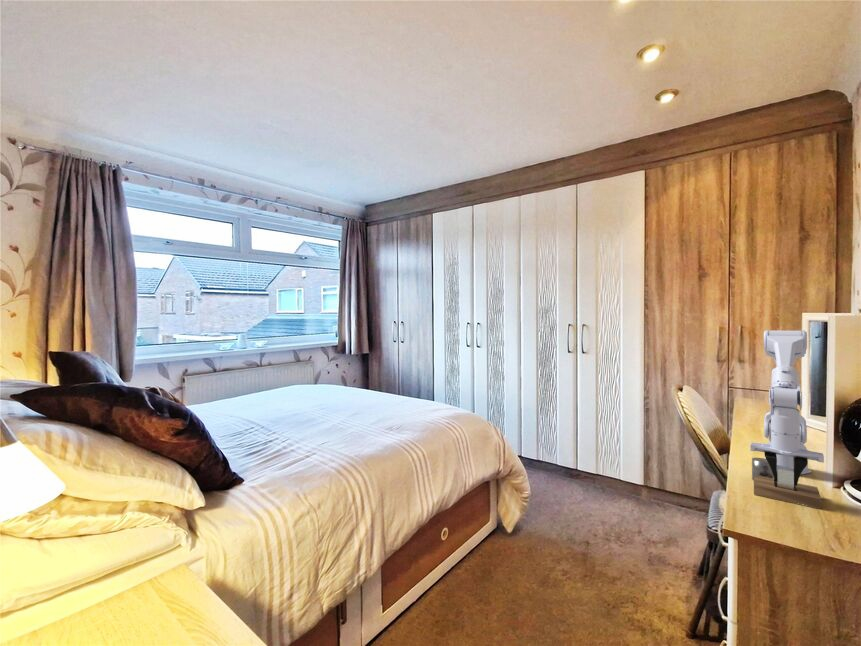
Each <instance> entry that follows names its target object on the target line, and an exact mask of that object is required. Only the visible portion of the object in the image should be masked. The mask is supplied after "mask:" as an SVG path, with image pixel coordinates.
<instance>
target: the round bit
mask: <svg viewBox="0 0 861 646" xmlns="http://www.w3.org/2000/svg"><path fill="white" fill-rule="evenodd" d="M754 475H757V476H762V477H767V478H773V479H774V476H773V473H772V470H771V467H770V465H769V463H768V461H767V460H766V458H765V457H764V458H763V457H752V458H751V480H752V481H754Z"/></svg>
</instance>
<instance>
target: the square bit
mask: <svg viewBox="0 0 861 646" xmlns="http://www.w3.org/2000/svg"><path fill="white" fill-rule="evenodd" d="M777 477H778V482H777V487H778V488H783V489H788V490H793V491H794V470H793V468H790V467H784V466H779V465H777Z"/></svg>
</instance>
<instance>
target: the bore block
mask: <svg viewBox="0 0 861 646" xmlns="http://www.w3.org/2000/svg"><path fill="white" fill-rule="evenodd" d="M753 495H754V496H759V497H763V498H766V499H767V498H768V499H773V500H777V501H782V502H786V501H788V502H787V503H790V502H793V503H792V504H795V503H799V504H798V505H800V504H804V505H807V506H806V507H809V506H811V507H810V508H813V507H816V508H815V509H818V508H821V509H820V510H822V509H823V508H822V507H823V506H822V505H823V504H822V503H823V502H822V501H823V500H822V497H821V494H820V492H819V489H818V487H817V486H813V485H808V484H803V483H797V486H796V485H794V491H793V490H788V489H783V488H778V487H777V482H775V481H774V479H773V478H767V477H762V476H757V475H754V480H753ZM804 505H803V506H804Z"/></svg>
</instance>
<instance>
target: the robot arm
mask: <svg viewBox="0 0 861 646" xmlns="http://www.w3.org/2000/svg"><path fill="white" fill-rule="evenodd" d="M807 332H808V331H806V330H804V329H803V330H782V329H781V330H778V329H777V330H768V329H765V330H764V331H763V349H764V353H765V355H766V356H768V357H771V358H772V359H773V360H774V362H775V367H774V368H772V370H771V375H770V376H771V381H770V382H771V384H770V386H771V387H770V388H769V389H768V404H769V411H768V412H766V413H765V415H764V420H763V432H764V434H763V436H764V437H765V438H766V439H768V441H769V443H759V442H758V443H757V442H753V441H751V442H750V443H749V445H750V447H749V451H750V452H759V453H763V454H764V459H766V460H767V461H768V463H769V465H770V467H771V470H772V473H773V476H774V481H775V482H778V477H777V465H779V466H784V467H790V468H793V470H794V485H796V486H797V483H798V482H799V478H800V476H801V475H805V474H810V473H812V470H810V469H809V460H810V461H817V462H819V463H824V462H825V461H824V460H825V455H824V453H823V452H817V451H812V450H808V448H807V447H806V446H805V444H806V443H807V440H808V432H807V431H808V430H807V429H808V428H807V426H808V425H807V420H806V418H805V417H804V416H802V415H801V412H800V411H802V408H803V392H802V388H801V386H800V374H799V371H798V370H797V369H796V368H795V367H794V366H795V363H796V361H797V359H799V358H803V357H805V355H806V354H807V349H808V333H807ZM798 406H799V409H798Z"/></svg>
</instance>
